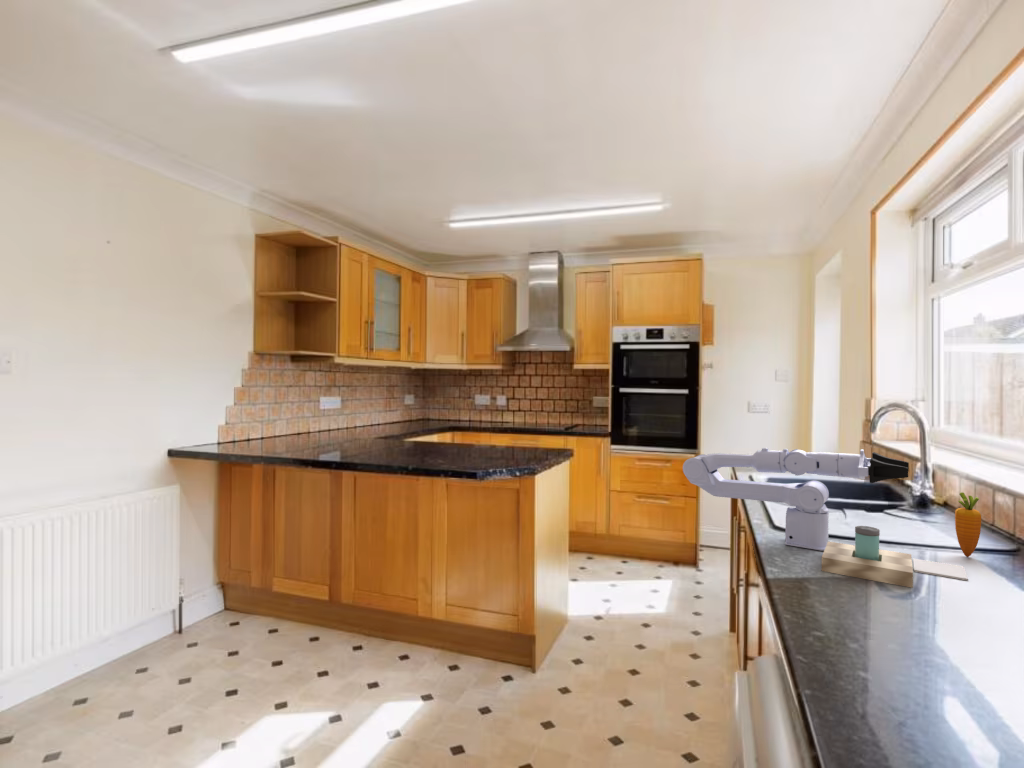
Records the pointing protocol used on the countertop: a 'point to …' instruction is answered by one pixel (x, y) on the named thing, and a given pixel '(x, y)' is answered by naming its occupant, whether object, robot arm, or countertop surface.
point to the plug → (867, 542)
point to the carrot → (967, 525)
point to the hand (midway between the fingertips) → (908, 469)
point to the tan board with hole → (868, 565)
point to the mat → (939, 569)
